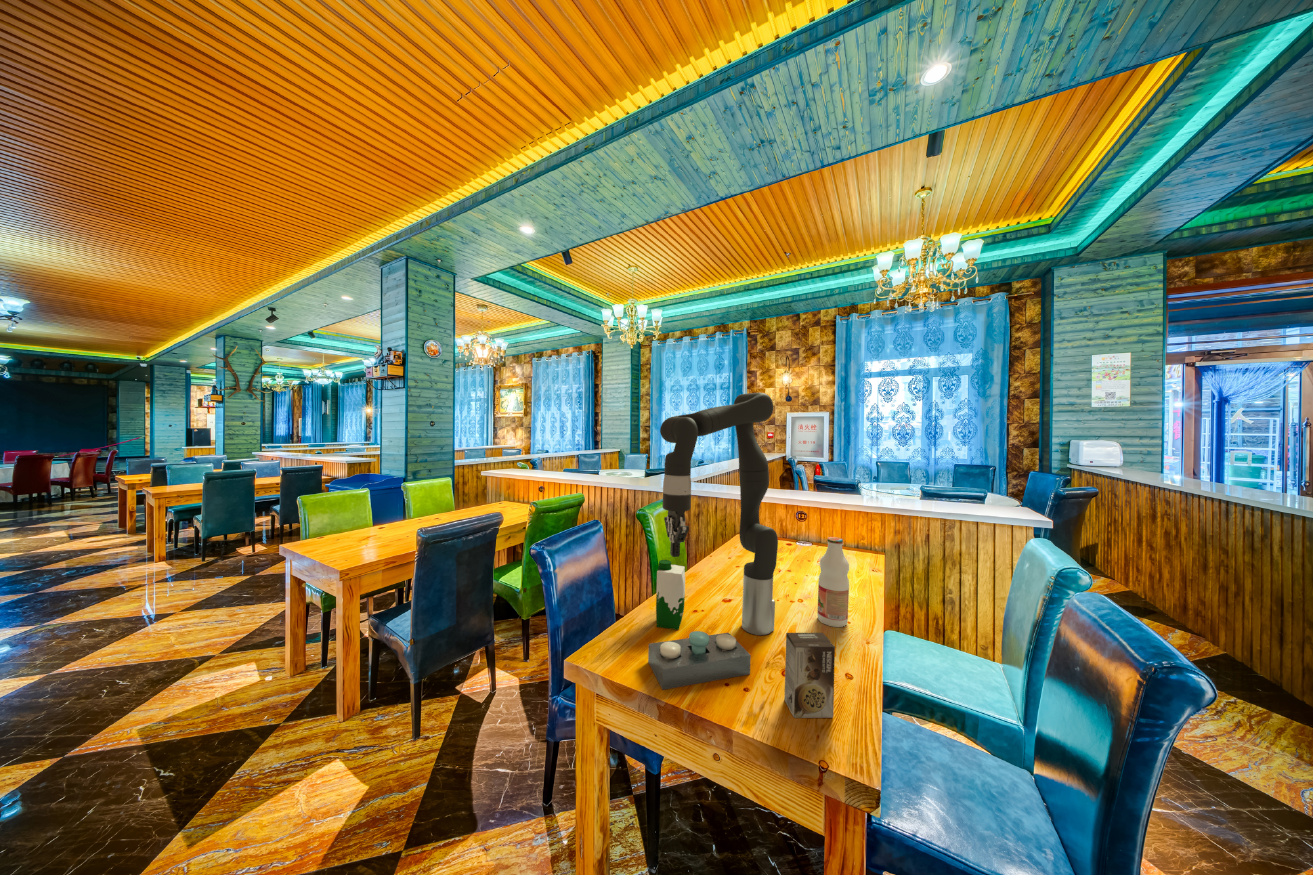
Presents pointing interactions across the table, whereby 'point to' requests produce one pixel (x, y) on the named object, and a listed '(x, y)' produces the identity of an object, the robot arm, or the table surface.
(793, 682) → the coffee box
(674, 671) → the socket strip
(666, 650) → the ivory plug
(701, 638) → the plug teal
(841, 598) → the fruit juice
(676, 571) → the milk carton
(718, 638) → the ivory plug
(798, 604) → the table surface
